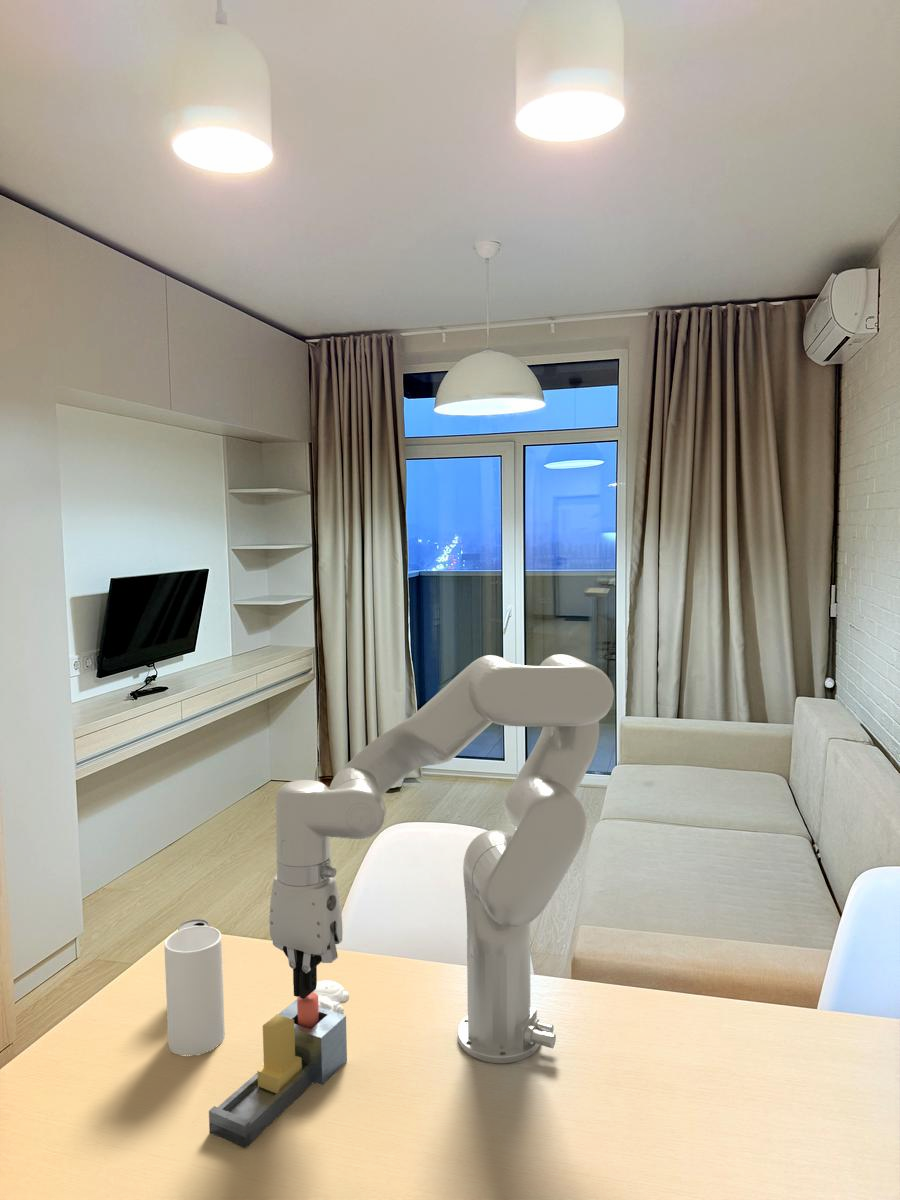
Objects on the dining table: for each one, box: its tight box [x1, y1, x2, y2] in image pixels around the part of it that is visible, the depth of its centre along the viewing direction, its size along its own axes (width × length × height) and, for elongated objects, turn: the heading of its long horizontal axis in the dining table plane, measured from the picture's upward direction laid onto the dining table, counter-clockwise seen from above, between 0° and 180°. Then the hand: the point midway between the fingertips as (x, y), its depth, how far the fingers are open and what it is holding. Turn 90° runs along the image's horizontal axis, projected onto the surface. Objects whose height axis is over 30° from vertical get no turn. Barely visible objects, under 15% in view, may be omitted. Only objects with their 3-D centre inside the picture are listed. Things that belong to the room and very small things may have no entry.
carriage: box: [256, 1013, 302, 1093], centre depth 115 cm, size 4×5×8 cm
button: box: [296, 993, 319, 1029], centre depth 120 cm, size 3×3×5 cm
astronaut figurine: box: [312, 979, 350, 1015], centre depth 135 cm, size 9×12×3 cm
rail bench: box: [208, 999, 348, 1150], centre depth 114 cm, size 9×20×7 cm, turn 152°
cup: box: [163, 925, 226, 1057], centre depth 126 cm, size 8×8×16 cm
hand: (305, 992), depth 120 cm, fingers closed
